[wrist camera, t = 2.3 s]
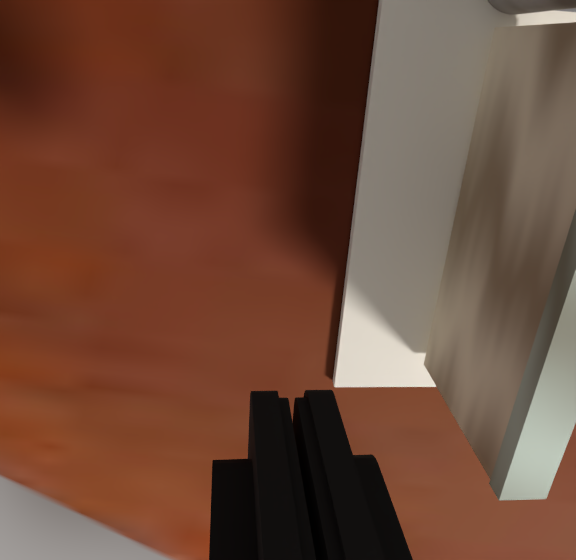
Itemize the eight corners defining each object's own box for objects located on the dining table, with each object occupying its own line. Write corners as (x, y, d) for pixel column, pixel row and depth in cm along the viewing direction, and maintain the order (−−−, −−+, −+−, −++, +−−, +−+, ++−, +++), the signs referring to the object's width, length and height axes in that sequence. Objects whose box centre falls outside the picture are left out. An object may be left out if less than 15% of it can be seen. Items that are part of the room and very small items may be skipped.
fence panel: (491, 27, 15) (659, 16, 9) (535, 30, 15) (730, 21, 9) (421, 364, 20) (499, 500, 14) (454, 364, 20) (546, 499, 14)
